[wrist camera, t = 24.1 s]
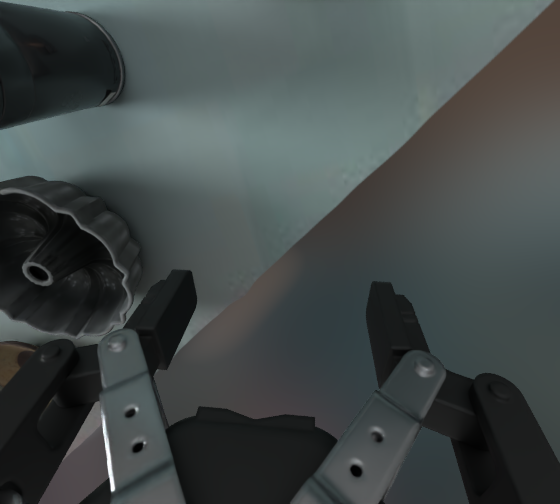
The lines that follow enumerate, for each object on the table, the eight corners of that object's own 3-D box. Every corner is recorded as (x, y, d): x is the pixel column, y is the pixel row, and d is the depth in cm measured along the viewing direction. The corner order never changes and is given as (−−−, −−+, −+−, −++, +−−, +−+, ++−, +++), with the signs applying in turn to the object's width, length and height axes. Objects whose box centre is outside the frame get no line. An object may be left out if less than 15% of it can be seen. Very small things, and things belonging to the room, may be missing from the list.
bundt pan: (170, 198, 45) (138, 231, 37) (151, 315, 60) (124, 358, 51) (-15, 131, 42) (-96, 150, 34) (11, 270, 57) (-41, 308, 48)
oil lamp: (80, 403, 81) (59, 433, 74) (-40, 343, 71) (-75, 372, 65) (118, 369, 71) (99, 401, 64) (-15, 295, 61) (-53, 323, 55)
